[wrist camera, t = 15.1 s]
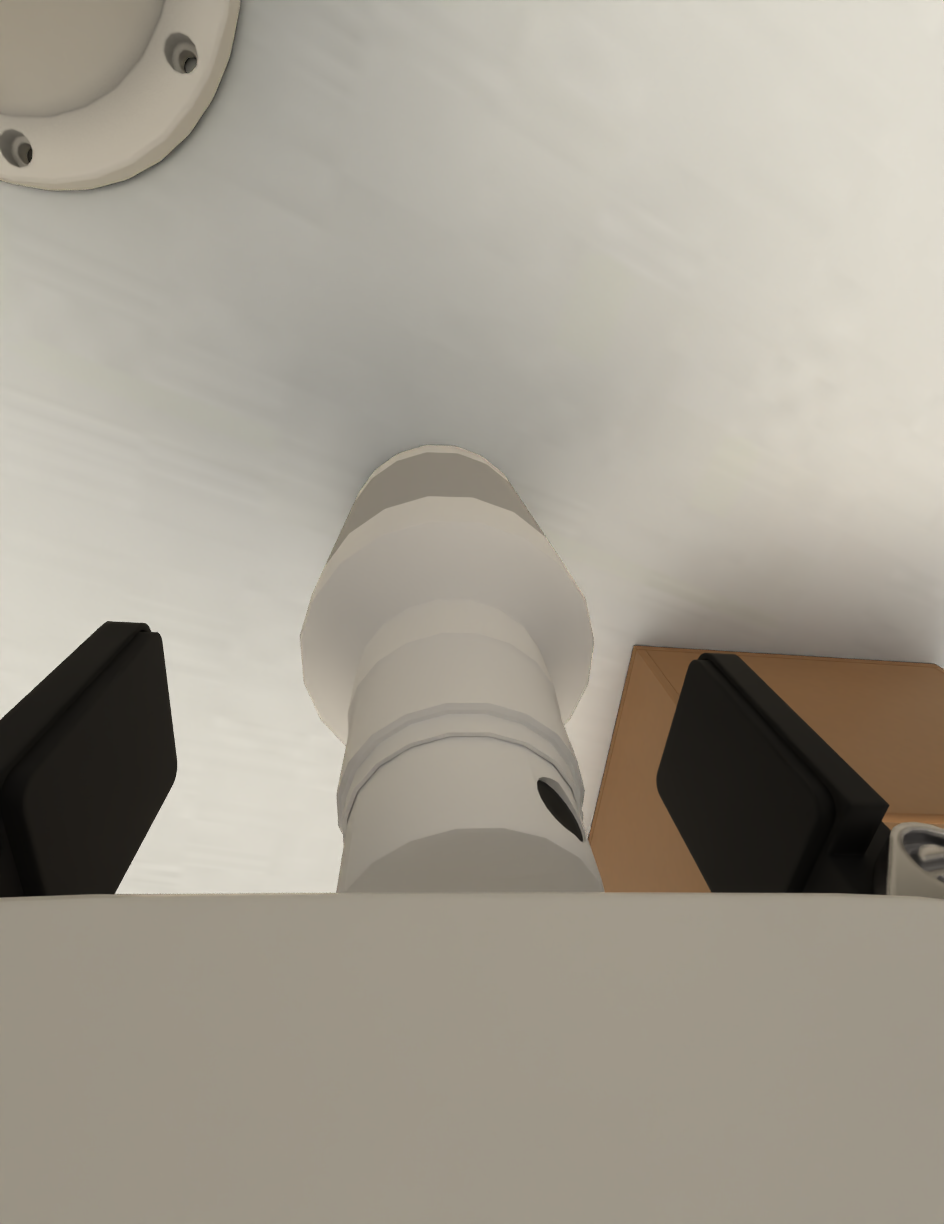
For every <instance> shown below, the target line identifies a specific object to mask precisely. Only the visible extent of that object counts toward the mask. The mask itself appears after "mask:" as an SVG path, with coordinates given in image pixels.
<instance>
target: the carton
mask: <svg viewBox="0 0 944 1224" xmlns="http://www.w3.org/2000/svg"><path fill="white" fill-rule="evenodd" d="M703 653H723V654H736V655H737V656H739V657H740V658H741V659H742V660H743V661H744V662H745V663H746V664H747V665H748V666H749V667H750V668H751V669H752V670H753V671H754V672H755V673H756V674H757V675H758V676H759V677H760V678H761V679H762V680H763V681H764V682H765V683H766V684H767V685H768V686H769V687H770V688H771V689H772V690H773V691H774V692H775V693H776V694H777V695H778V696H779V697H780V698H781V699H782V700H783V701H785V702H786V703H787V704H788V705H789V706H790V707H791V708H792V709H793V710H794V711H795V712H796V713H797V714H798V715H799V716H800V717H801V718H802V719H803V720H804V721H805V722H806V723H807V724H808V725H809V726H810V727H811V728H812V729H813V730H814V731H815V732H816V733H817V734H818V735H819V736H820V737H821V738H822V739H823V740H824V741H825V742H826V743H827V744H828V745H829V746H830V747H831V748H832V749H833V750H834V751H835V752H836V753H837V754H838V755H839V756H840V757H841V758H842V759H843V760H844V761H845V762H846V763H847V764H848V765H849V766H850V767H852V768H853V769H854V770H855V771H856V772H857V773H858V774H859V775H860V776H861V777H862V778H863V779H864V780H865V781H866V782H867V783H868V784H869V785H870V786H871V787H872V788H873V789H874V790H875V791H876V792H877V793H878V794H879V795H880V796H881V797H882V798H883V799H884V800H885V801H886V802H887V803H888V804H889V807H888V809H887V811H886V813H885V815H884V817H883V819H882V822H892V823H903V822H919V823H926V824H944V669H942V668H941V667H939V666H937V665H936V664H927V663H910V662H894V661H878V660H861V659H845V658H829V657H813V656H796V655H780V654H764V653H747V652H731V651H715V650H699V649H682V648H666V647H650V646H634V647H633V651H632V656H631V660H630V664H629V668H628V673H627V677H626V681H625V685H624V690H623V694H622V698H621V703H620V707H619V711H618V715H617V720H616V724H615V728H614V732H613V737H612V741H611V745H610V749H609V754H608V758H607V762H606V766H605V771H604V775H603V779H602V784H601V788H600V792H599V796H598V801H597V805H596V809H595V813H594V818H593V822H592V826H591V830H590V835H589V839H588V841H589V844H590V847H591V850H592V853H593V856H594V859H595V861H596V864H597V867H598V870H599V873H600V876H601V879H602V883H603V887H604V891H605V892H671V893H711V891H710V889H709V887H708V885H707V883H706V881H705V880H704V878H703V876H702V874H701V872H700V870H699V868H698V866H697V865H696V863H695V861H694V859H693V857H692V855H691V853H690V852H689V850H688V848H687V846H686V844H685V842H684V840H683V838H682V837H681V835H680V833H679V831H678V829H677V827H676V825H675V824H674V822H673V820H672V818H671V816H670V814H669V812H668V810H667V809H666V807H665V805H664V803H663V801H662V799H661V797H660V796H659V793H658V790H657V785H656V776H657V771H658V768H659V765H660V761H661V758H662V754H663V751H664V748H665V744H666V741H667V737H668V734H669V731H670V727H671V724H672V720H673V717H674V713H675V710H676V707H677V703H678V700H679V696H680V693H681V690H682V686H683V683H684V679H685V676H686V673H687V669H688V666H689V664H690V663H691V661H693V660H698V658H699V656H700V655H701V654H703Z"/></svg>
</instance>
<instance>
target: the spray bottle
mask: <svg viewBox="0 0 944 1224" xmlns="http://www.w3.org/2000/svg"><path fill="white" fill-rule="evenodd" d="M300 643H301V656H302V669H303V680H304V684H305V686H306V688H307V691H308V693H309V695H310V697H311V699H312V702H313V704H314V706H315V708H316V710H317V712H318V715H319V717H320V719H321V720H322V722H323V723H324V724H325V725H326V726H327V727H328V728H329V729H330V730H331V731H332V732H333V733H334V734H335V735H336V736H337V737H338V738H339V740H340V741H341V742H342V743H343V744H344V745H345V746H346V749H345V754H344V759H343V764H342V769H341V774H340V780H339V785H338V790H337V810H338V826H339V828H340V830H341V832H342V834H343V842H344V848H343V854H342V860H341V866H340V873H339V879H338V885H337V891H336V893H499V892H605V891H604V887H603V883H602V879H601V876H600V873H599V870H598V867H597V864H596V861H595V859H594V856H593V853H592V850H591V847H590V844H589V841H588V838H587V835H586V832H585V829H584V826H583V823H582V820H583V812H582V804H583V798H584V791H585V790H584V786H583V782H582V778H581V774H580V770H579V766H578V762H577V759H576V756H575V754H574V751H573V748H572V746H571V743H570V741H569V738H568V735H567V733H566V730H565V727H564V725H565V724H566V723H567V722H568V721H569V719H570V718H571V716H572V714H573V712H574V710H575V708H576V706H577V704H578V702H579V700H580V698H581V696H582V694H583V693H584V691H585V689H586V687H587V685H588V681H589V674H590V667H591V660H592V653H593V646H594V637H593V633H592V628H591V623H590V618H589V614H588V609H587V604H586V600H585V597H584V595H583V594H582V592H581V590H580V589H579V587H578V586H577V584H576V582H575V581H574V579H573V578H572V576H571V574H570V573H569V571H568V570H567V568H566V567H565V565H564V563H563V562H562V560H561V559H560V557H559V556H558V554H557V553H556V551H555V550H554V548H553V547H552V545H551V544H550V542H549V541H548V539H547V538H546V536H545V535H544V533H543V532H542V530H541V529H540V527H539V526H538V524H537V523H536V521H535V520H534V518H533V517H532V515H531V514H530V512H529V511H528V509H527V508H526V506H525V505H524V503H523V502H522V500H521V499H520V497H519V496H518V494H517V493H516V491H515V490H514V488H513V487H512V485H511V484H510V482H509V481H508V479H507V478H506V476H505V475H504V473H502V472H501V471H500V470H499V469H497V468H496V467H495V466H494V465H492V464H491V463H490V462H489V461H487V460H486V459H485V458H484V457H483V456H481V455H478V454H475V453H473V452H470V451H467V450H465V449H462V448H459V447H457V446H443V445H424V446H421V447H418V448H414V449H411V450H407V451H404V452H401V453H398V454H397V455H395V456H394V457H392V458H391V459H390V460H388V461H387V462H385V463H384V464H382V465H381V466H380V467H378V468H377V469H375V471H374V472H373V473H372V475H371V476H370V478H369V479H368V480H367V482H366V483H365V485H364V486H363V487H362V489H361V490H360V491H359V493H358V495H357V498H356V500H355V502H354V504H353V506H352V508H351V511H350V513H349V515H348V517H347V519H346V521H345V524H344V526H343V528H342V530H341V532H340V534H339V537H338V539H337V541H336V543H335V545H334V547H333V550H332V552H331V554H330V556H329V558H328V560H327V563H326V565H325V567H324V569H323V571H322V573H321V576H320V578H319V580H318V582H317V584H316V586H315V589H314V591H313V593H312V596H311V599H310V603H309V606H308V610H307V613H306V616H305V620H304V623H303V627H302V630H301V634H300Z"/></svg>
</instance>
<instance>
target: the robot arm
mask: <svg viewBox="0 0 944 1224" xmlns="http://www.w3.org/2000/svg"><path fill="white" fill-rule="evenodd" d="M240 1H241V0H0V180H1V181H4V182H7V183H11V184H17V185H22V186H28V187H33V188H38V189H44V190H49V191H55V190H90V189H94V188H98V187H101V186H105V185H109V184H113V183H116V182H120V181H124V180H128V179H129V178H131V177H133V176H135V175H136V174H138V173H140V172H142V171H144V170H145V169H147V168H149V167H151V166H153V165H154V164H156V163H158V162H160V161H161V160H162V159H163V158H165V157H166V156H167V155H168V154H169V153H170V152H171V151H172V150H173V149H174V148H175V147H176V146H177V145H178V144H179V143H180V142H182V141H183V140H184V139H185V138H186V137H187V136H188V135H189V134H190V133H191V131H192V130H193V128H194V127H195V125H196V124H197V122H198V121H199V119H200V118H201V116H202V115H203V113H204V112H205V110H206V109H207V107H208V106H209V104H210V103H211V101H212V100H213V98H214V95H215V93H216V90H217V88H218V85H219V83H220V80H221V78H222V75H223V73H224V70H225V68H226V65H227V63H228V60H229V58H230V55H231V50H232V45H233V40H234V35H235V30H236V25H237V20H238V15H239V10H240ZM190 57H194V58H196V59H197V64H196V67H195V68H194V69H193V70H192V71H191V72H190V73H185V70H184V63H185V61H186V60H187V59H188V58H190ZM30 148H32V150H33V153H32V160H31V162H30V163H29V162H28V159H27V152H28V151H29V149H30ZM176 772H177V756H176V748H175V740H174V732H173V724H172V716H171V708H170V700H169V692H168V684H167V676H166V667H165V659H164V651H163V643H162V638H161V636H160V634H159V633H158V632H151V630H150V628H149V626H148V625H147V624H146V623H131V622H112V621H107V622H106V623H104V624H103V625H102V626H101V627H100V628H98V629H97V630H96V631H95V632H94V633H93V634H92V635H91V636H90V637H89V638H88V639H87V640H86V641H84V642H83V643H82V644H81V645H80V646H79V647H78V648H77V649H76V650H75V651H74V652H73V653H72V654H71V655H69V656H68V657H67V658H66V659H65V660H64V661H63V662H62V663H61V664H60V665H59V666H58V667H57V668H55V669H54V670H53V671H52V672H51V673H50V674H49V675H48V676H47V677H46V678H45V679H44V680H43V681H42V682H40V683H39V684H38V685H37V686H36V687H35V688H34V689H33V690H32V691H31V692H30V693H29V694H28V695H26V696H25V697H24V698H23V699H22V700H21V701H20V702H19V703H18V704H17V705H16V706H15V707H14V708H13V709H11V710H10V711H9V712H8V713H7V714H6V715H5V716H4V717H3V718H2V719H1V720H0V1224H944V829H943V828H940V827H937V826H934V825H930V824H925V823H919V822H903V823H900V824H898V825H896V826H894V827H893V828H892V830H890V829H889V828H888V827H887V826H886V825H885V824H884V823H883V822H882V819H883V817H884V815H885V813H886V811H887V809H888V807H889V804H888V803H887V802H886V801H885V800H884V799H883V798H882V797H881V796H880V795H879V794H878V793H877V792H876V791H875V790H874V789H873V788H872V787H871V786H870V785H869V784H868V783H867V782H866V781H865V780H864V779H863V778H862V777H861V776H860V775H859V774H858V773H857V772H856V771H855V770H854V769H853V768H852V767H850V766H849V765H848V764H847V763H846V762H845V761H844V760H843V759H842V758H841V757H840V756H839V755H838V754H837V753H836V752H835V751H834V750H833V749H832V748H831V747H830V746H829V745H828V744H827V743H826V742H825V741H824V740H823V739H822V738H821V737H820V736H819V735H818V734H817V733H816V732H815V731H814V730H813V729H812V728H811V727H810V726H809V725H808V724H807V723H806V722H805V721H804V720H803V719H802V718H801V717H800V716H799V715H798V714H797V713H796V712H795V711H794V710H793V709H792V708H791V707H790V706H789V705H788V704H787V703H786V702H785V701H783V700H782V699H781V698H780V697H779V696H778V695H777V694H776V693H775V692H774V691H773V690H772V689H771V688H770V687H769V686H768V685H767V684H766V683H765V682H764V681H763V680H762V679H761V678H760V677H759V676H758V675H757V674H756V673H755V672H754V671H753V670H752V669H751V668H750V667H749V666H748V665H747V664H746V663H745V662H744V661H743V660H742V659H741V658H740V657H739V656H737V655H736V654H723V653H703V654H701V655H700V656H699V658H698V660H693V661H691V663H690V664H689V666H688V669H687V673H686V676H685V679H684V683H683V686H682V690H681V693H680V696H679V700H678V703H677V707H676V710H675V713H674V717H673V720H672V724H671V727H670V731H669V734H668V737H667V741H666V744H665V748H664V751H663V754H662V758H661V761H660V765H659V768H658V771H657V776H656V785H657V790H658V793H659V796H660V797H661V799H662V801H663V803H664V805H665V807H666V809H667V810H668V812H669V814H670V816H671V818H672V820H673V822H674V824H675V825H676V827H677V829H678V831H679V833H680V835H681V837H682V838H683V840H684V842H685V844H686V846H687V848H688V850H689V852H690V853H691V855H692V857H693V859H694V861H695V863H696V865H697V866H698V868H699V870H700V872H701V874H702V876H703V878H704V880H705V881H706V883H707V885H708V887H709V889H710V891H711V893H671V892H499V893H227V894H115V892H116V890H117V888H118V887H119V885H120V883H121V881H122V879H123V877H124V875H125V873H126V872H127V870H128V868H129V866H130V864H131V862H132V860H133V858H134V857H135V855H136V853H137V851H138V849H139V847H140V845H141V843H142V842H143V840H144V838H145V836H146V834H147V832H148V830H149V829H150V827H151V825H152V823H153V821H154V819H155V817H156V815H157V814H158V812H159V810H160V808H161V806H162V804H163V802H164V800H165V799H166V797H167V795H168V793H169V791H170V789H171V787H172V785H173V783H174V781H175V777H176Z"/></svg>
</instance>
